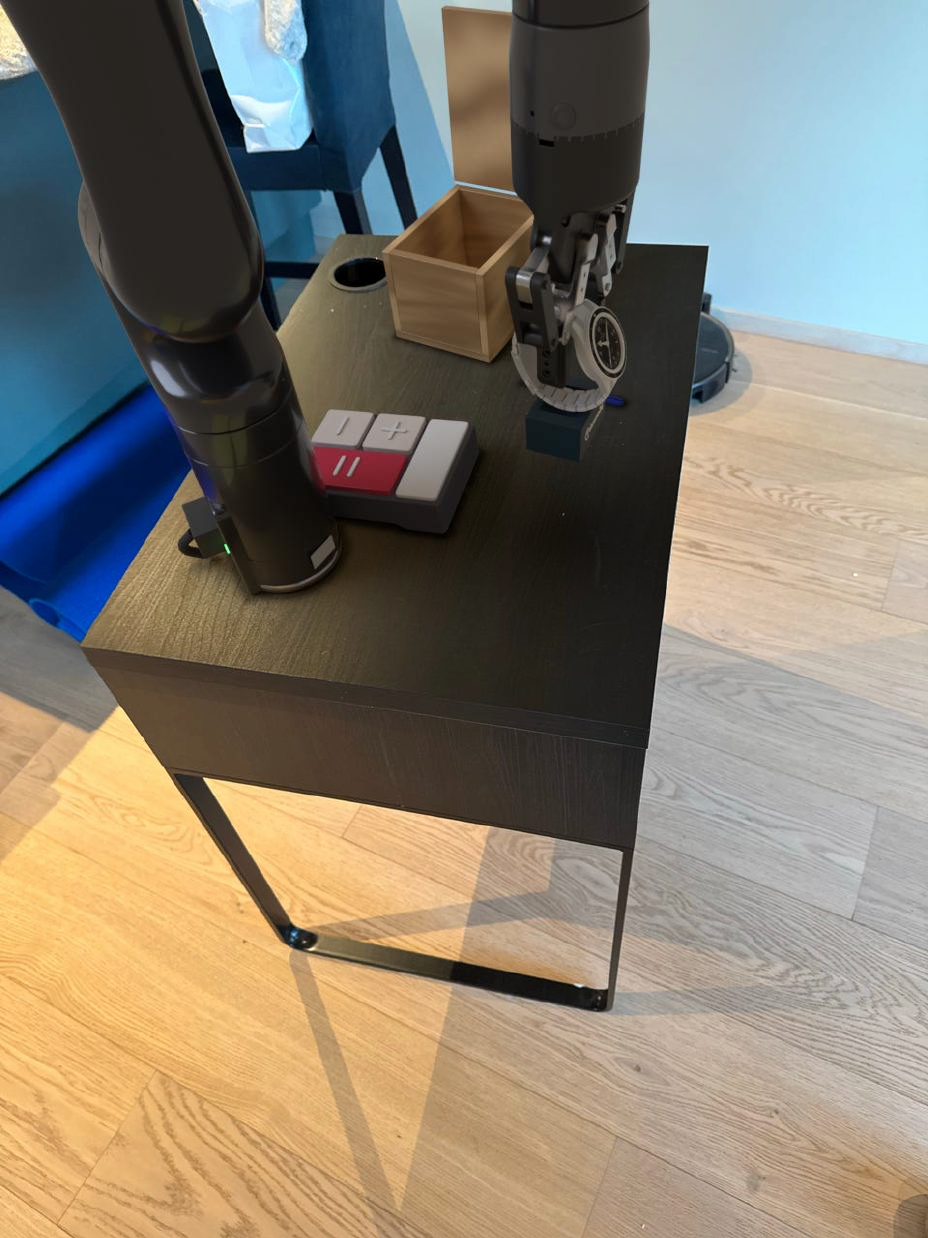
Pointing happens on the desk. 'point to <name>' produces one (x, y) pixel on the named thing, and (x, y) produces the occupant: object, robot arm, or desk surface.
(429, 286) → the chest
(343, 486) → the calculator
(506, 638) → the desk surface
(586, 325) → the watch
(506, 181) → the chest lid
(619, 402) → the ballpoint pen
